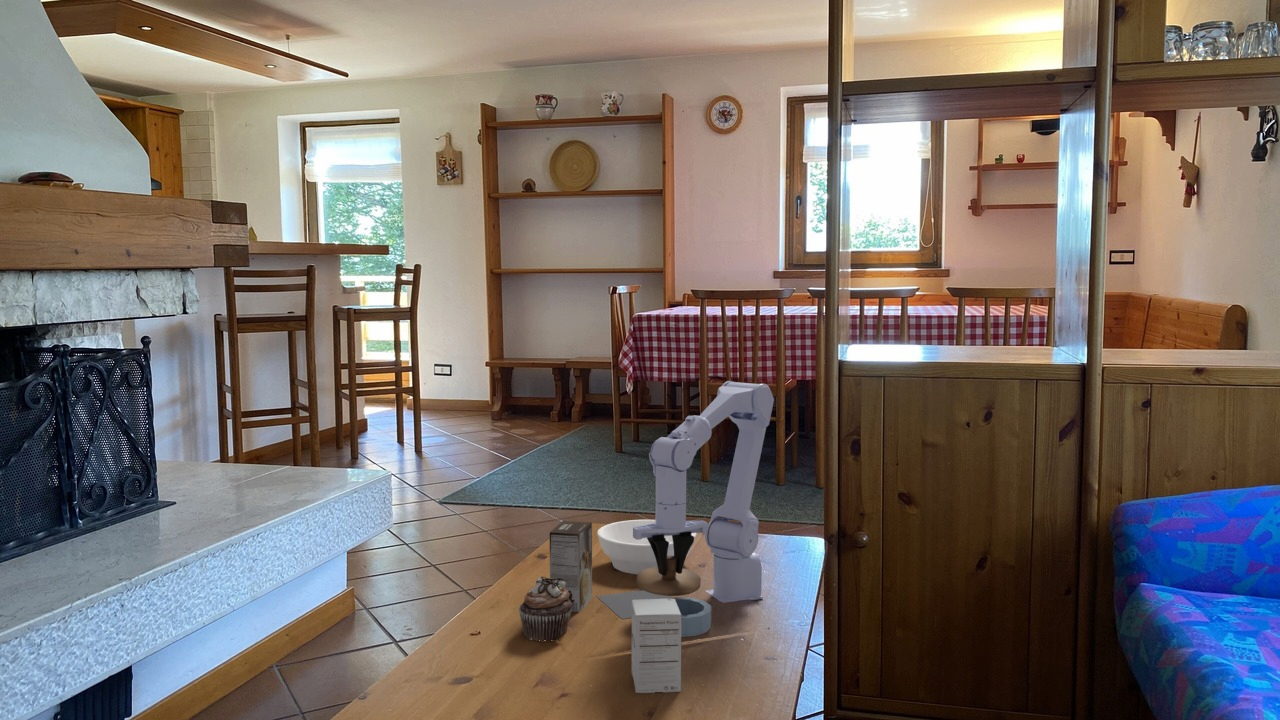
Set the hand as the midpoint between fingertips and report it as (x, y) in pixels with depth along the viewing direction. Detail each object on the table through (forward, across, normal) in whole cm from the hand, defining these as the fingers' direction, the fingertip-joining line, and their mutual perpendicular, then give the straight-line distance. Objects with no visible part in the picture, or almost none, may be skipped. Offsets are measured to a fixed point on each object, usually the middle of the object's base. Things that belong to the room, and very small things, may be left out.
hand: (670, 573), depth 170 cm
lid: (+2, 0, -1) cm, 2 cm away
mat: (+9, +2, -10) cm, 14 cm away
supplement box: (+10, +13, +24) cm, 29 cm away
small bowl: (+9, -1, +4) cm, 10 cm away
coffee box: (+10, +15, -15) cm, 23 cm away
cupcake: (+10, +23, -3) cm, 26 cm away
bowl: (+10, -9, -34) cm, 36 cm away
